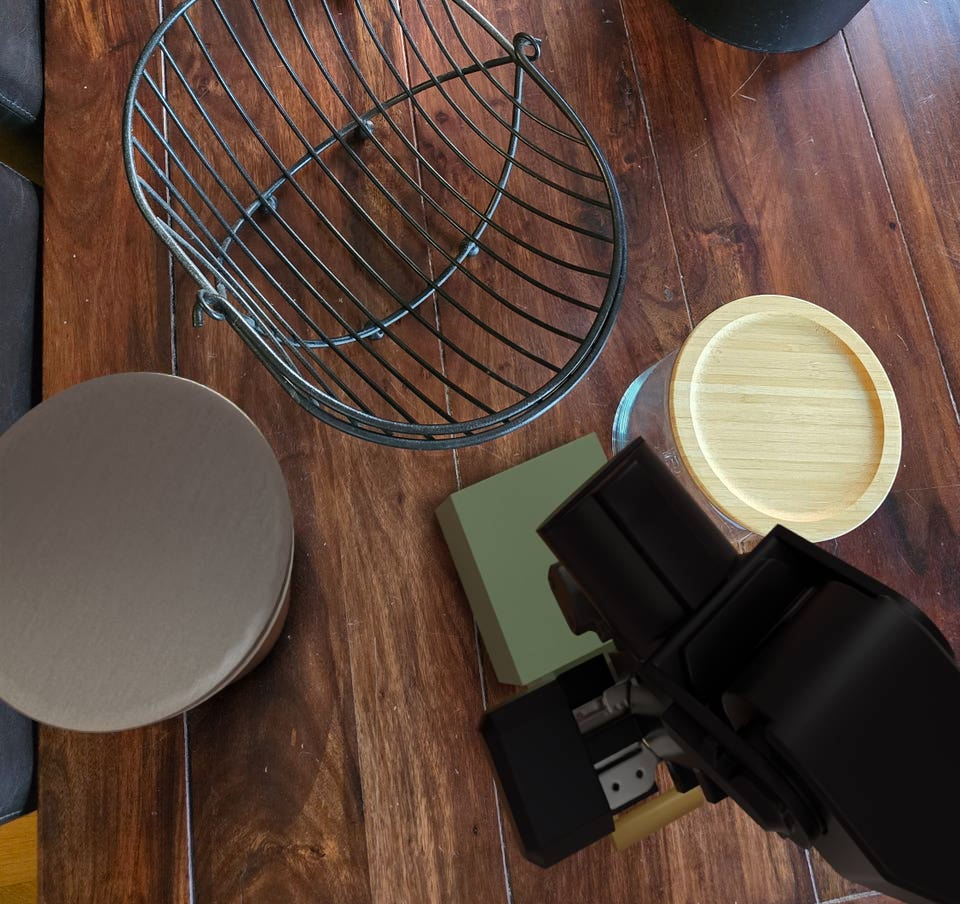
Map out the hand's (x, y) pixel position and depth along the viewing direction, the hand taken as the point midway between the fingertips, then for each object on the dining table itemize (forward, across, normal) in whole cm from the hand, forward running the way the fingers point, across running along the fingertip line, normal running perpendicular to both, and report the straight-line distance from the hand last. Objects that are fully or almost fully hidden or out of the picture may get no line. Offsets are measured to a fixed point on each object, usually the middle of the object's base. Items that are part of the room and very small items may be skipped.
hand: (638, 692), depth 60 cm
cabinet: (+12, 0, -8) cm, 14 cm away
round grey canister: (+12, +20, -14) cm, 27 cm away
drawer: (+11, 0, +1) cm, 11 cm away
